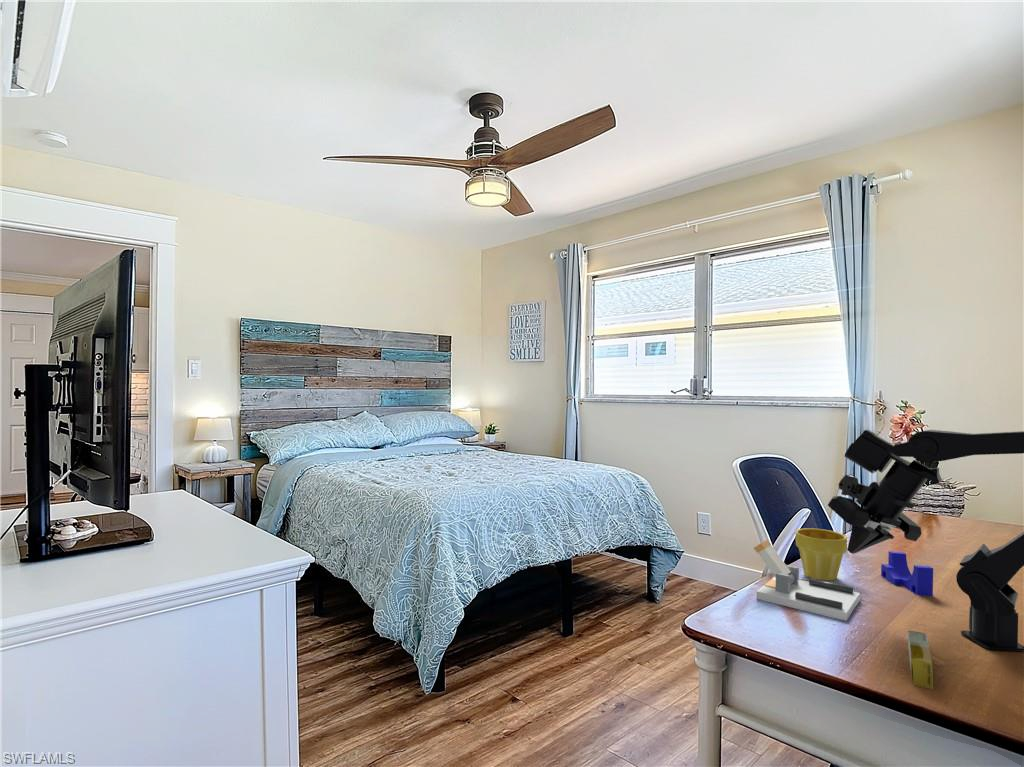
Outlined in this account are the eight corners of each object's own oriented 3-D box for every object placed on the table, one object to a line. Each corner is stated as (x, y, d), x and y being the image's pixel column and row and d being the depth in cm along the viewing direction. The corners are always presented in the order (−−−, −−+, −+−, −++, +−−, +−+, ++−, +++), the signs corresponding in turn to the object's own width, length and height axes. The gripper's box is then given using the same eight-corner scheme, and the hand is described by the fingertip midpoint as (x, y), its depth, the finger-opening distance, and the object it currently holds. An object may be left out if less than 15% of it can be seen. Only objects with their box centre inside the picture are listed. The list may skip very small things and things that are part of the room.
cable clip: (881, 576, 133) (881, 550, 133) (902, 578, 132) (902, 552, 132) (909, 595, 121) (910, 566, 121) (932, 596, 120) (933, 568, 121)
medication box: (907, 654, 94) (907, 629, 94) (928, 658, 92) (927, 633, 92) (911, 686, 84) (910, 658, 84) (934, 691, 82) (933, 662, 82)
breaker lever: (797, 578, 120) (767, 539, 124) (790, 585, 117) (760, 543, 120) (789, 583, 121) (760, 543, 125) (783, 589, 118) (753, 548, 121)
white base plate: (859, 600, 117) (860, 575, 117) (846, 620, 106) (846, 593, 106) (776, 581, 127) (776, 559, 127) (756, 598, 117) (756, 574, 117)
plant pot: (819, 585, 125) (820, 540, 125) (784, 570, 135) (785, 529, 135) (857, 582, 128) (858, 538, 128) (820, 567, 138) (821, 527, 138)
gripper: (898, 474, 118) (854, 533, 124) (832, 454, 112) (789, 517, 118) (944, 508, 109) (895, 570, 114) (874, 487, 103) (825, 554, 108)
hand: (850, 551), depth 114 cm, fingers closed
